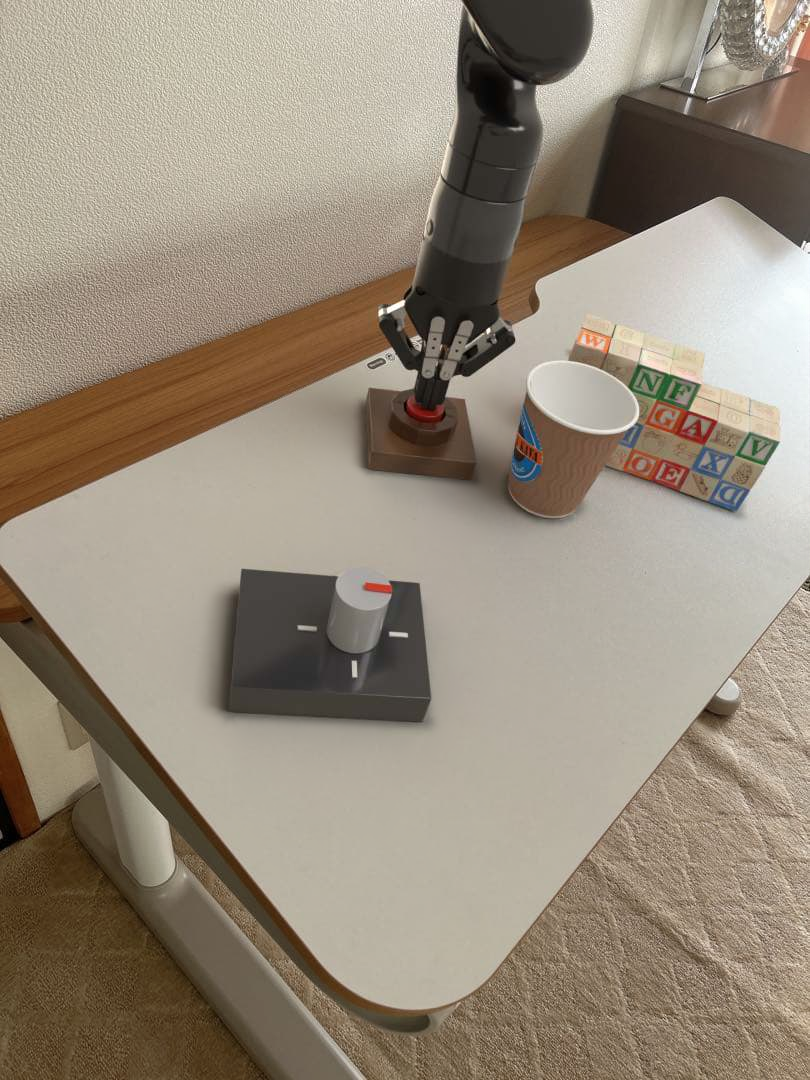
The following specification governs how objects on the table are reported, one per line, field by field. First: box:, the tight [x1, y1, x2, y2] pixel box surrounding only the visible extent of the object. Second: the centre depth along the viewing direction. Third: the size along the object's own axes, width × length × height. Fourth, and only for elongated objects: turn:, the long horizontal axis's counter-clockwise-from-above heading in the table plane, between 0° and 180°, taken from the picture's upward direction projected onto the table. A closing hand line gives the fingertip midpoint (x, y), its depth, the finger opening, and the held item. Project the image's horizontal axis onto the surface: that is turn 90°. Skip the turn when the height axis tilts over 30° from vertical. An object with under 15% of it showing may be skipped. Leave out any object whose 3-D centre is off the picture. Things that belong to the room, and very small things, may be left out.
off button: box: [405, 395, 444, 424], centre depth 85 cm, size 4×4×2 cm
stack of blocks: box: [567, 313, 781, 512], centre depth 88 cm, size 21×6×12 cm, turn 71°
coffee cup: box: [508, 360, 639, 519], centre depth 81 cm, size 10×10×12 cm
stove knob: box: [326, 566, 392, 653], centre depth 64 cm, size 4×4×5 cm
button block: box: [364, 387, 478, 481], centre depth 86 cm, size 10×10×4 cm
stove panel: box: [228, 568, 432, 723], centre depth 66 cm, size 14×11×3 cm
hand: (426, 404), depth 85 cm, fingers closed
